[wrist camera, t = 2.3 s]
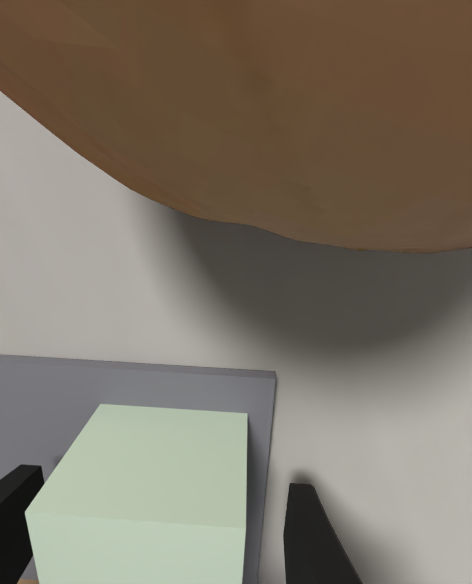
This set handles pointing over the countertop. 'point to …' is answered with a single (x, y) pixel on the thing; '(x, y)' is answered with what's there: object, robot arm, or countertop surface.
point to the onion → (264, 109)
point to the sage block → (145, 500)
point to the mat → (131, 392)
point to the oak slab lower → (28, 581)
